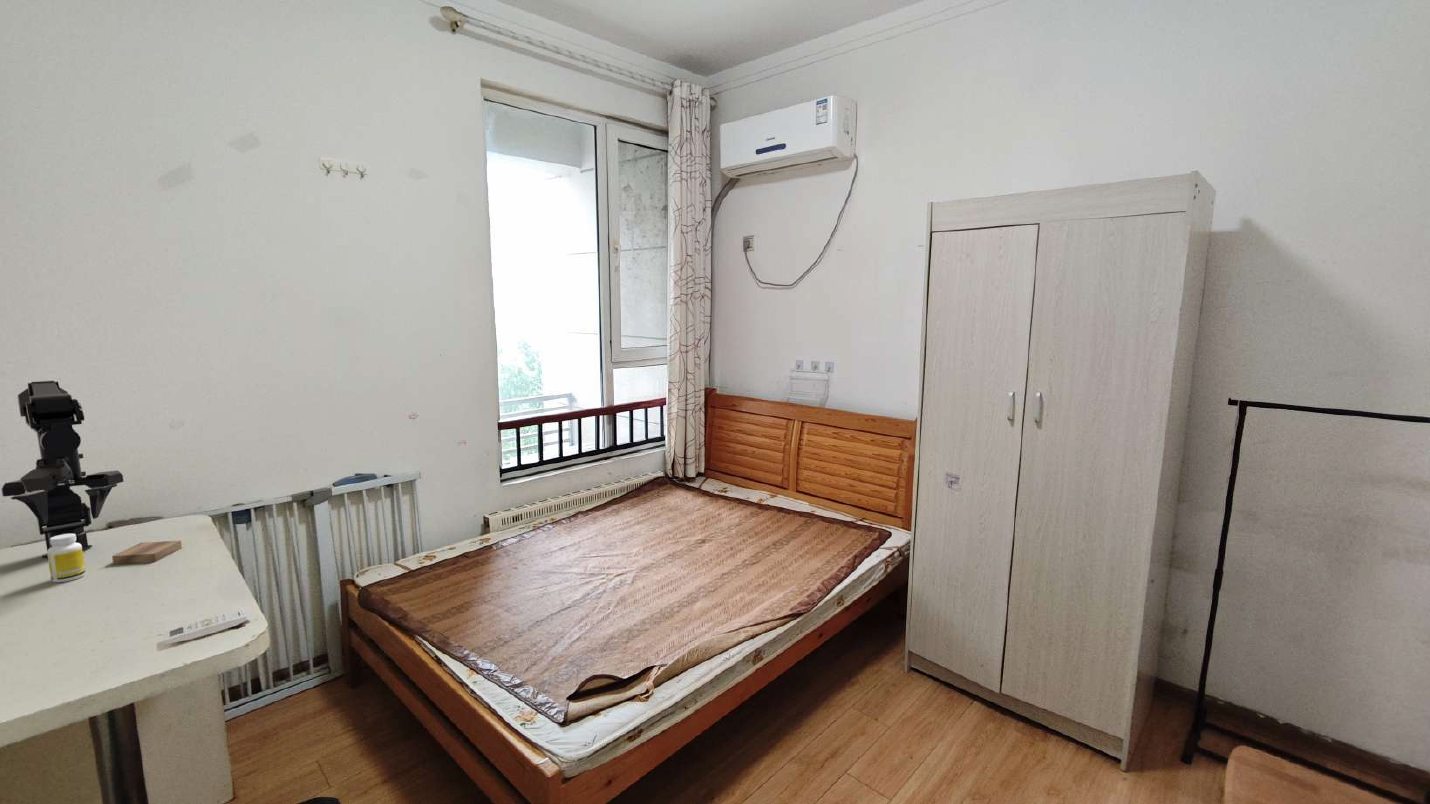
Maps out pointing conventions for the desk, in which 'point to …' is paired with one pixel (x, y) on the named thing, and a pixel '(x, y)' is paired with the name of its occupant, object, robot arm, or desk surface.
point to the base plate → (147, 552)
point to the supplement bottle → (65, 558)
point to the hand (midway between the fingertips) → (70, 521)
